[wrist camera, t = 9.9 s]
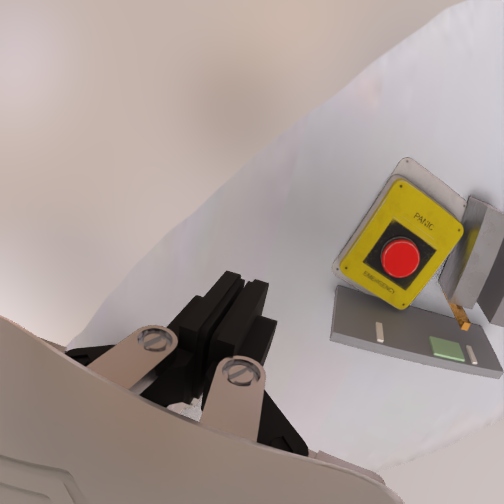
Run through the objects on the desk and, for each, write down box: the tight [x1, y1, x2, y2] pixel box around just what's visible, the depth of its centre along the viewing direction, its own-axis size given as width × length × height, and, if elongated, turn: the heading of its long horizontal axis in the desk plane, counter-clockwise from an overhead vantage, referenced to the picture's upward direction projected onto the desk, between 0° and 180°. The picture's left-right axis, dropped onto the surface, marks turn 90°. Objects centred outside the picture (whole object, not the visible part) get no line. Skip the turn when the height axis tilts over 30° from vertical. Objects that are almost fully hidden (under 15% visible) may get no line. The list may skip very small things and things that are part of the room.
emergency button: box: [332, 157, 467, 310], centre depth 29 cm, size 9×4×15 cm
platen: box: [438, 196, 504, 331], centre depth 25 cm, size 11×3×8 cm, turn 170°
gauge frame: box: [330, 238, 504, 379], centre depth 26 cm, size 16×20×9 cm
